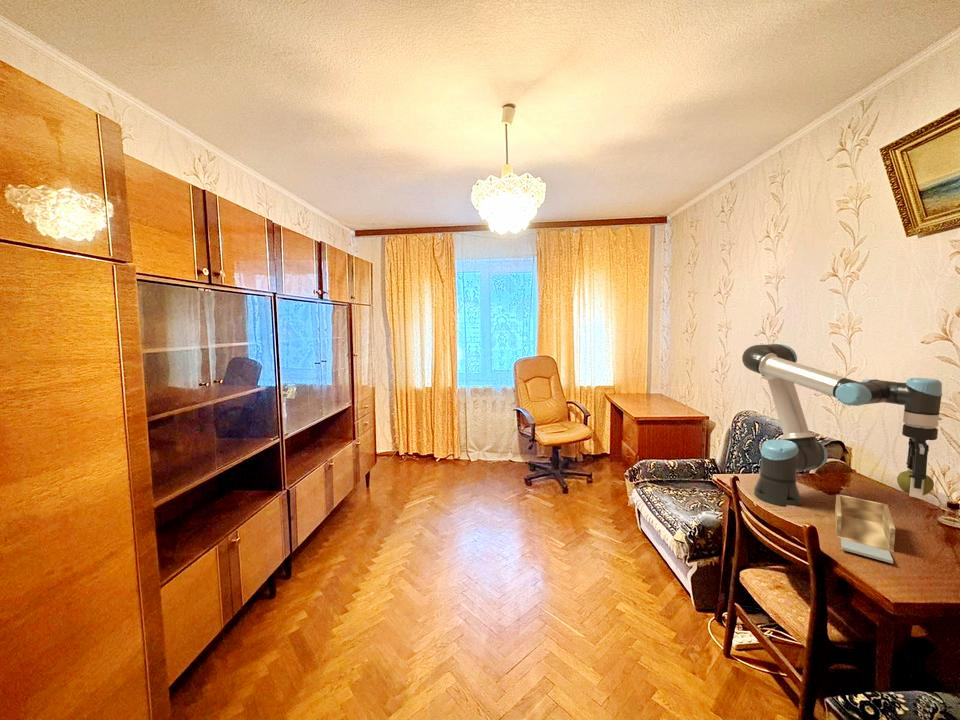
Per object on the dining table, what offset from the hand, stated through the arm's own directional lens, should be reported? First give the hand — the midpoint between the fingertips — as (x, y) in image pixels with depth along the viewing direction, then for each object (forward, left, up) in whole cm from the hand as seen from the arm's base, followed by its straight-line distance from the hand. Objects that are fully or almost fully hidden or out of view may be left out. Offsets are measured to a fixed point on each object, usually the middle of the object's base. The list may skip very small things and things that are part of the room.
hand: (913, 492), depth 126 cm
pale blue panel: (-12, -20, -14) cm, 27 cm away
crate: (-12, -8, -15) cm, 21 cm away
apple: (0, 0, -1) cm, 1 cm away
